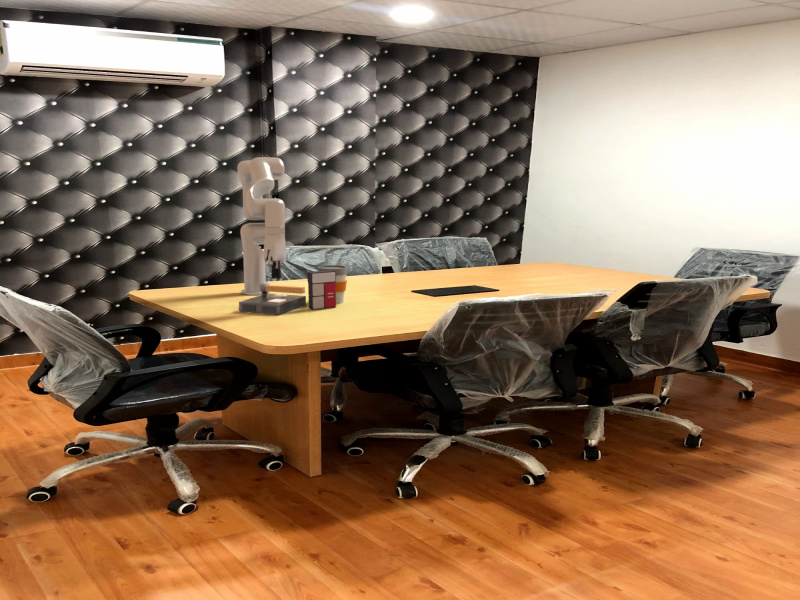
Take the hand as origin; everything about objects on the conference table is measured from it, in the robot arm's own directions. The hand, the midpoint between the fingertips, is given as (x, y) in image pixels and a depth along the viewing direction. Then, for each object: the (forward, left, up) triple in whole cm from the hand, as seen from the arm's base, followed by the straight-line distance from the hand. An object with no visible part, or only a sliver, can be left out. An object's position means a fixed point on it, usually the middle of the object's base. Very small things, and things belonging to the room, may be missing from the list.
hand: (276, 278), depth 289 cm
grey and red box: (-12, +14, -13) cm, 23 cm away
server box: (-4, -4, -13) cm, 14 cm away
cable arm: (-11, -4, -7) cm, 14 cm away
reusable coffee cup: (-26, +12, -13) cm, 32 cm away
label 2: (0, 0, -9) cm, 9 cm away
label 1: (-10, -5, -9) cm, 14 cm away
